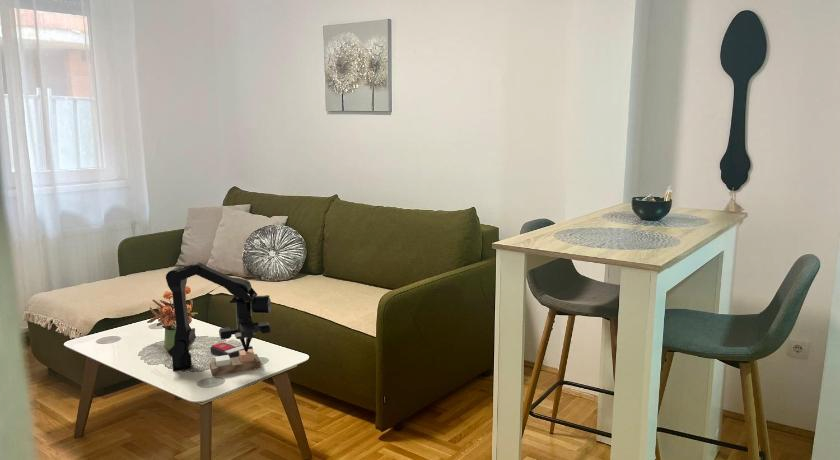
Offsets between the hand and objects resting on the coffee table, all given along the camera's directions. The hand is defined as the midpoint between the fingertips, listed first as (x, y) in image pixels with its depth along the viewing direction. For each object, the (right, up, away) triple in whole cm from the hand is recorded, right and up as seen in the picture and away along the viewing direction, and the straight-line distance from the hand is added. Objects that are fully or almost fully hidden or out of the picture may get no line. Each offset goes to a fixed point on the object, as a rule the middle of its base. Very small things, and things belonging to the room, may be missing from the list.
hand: (246, 351), depth 242 cm
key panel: (-4, -7, -1) cm, 8 cm away
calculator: (-10, -4, +14) cm, 18 cm away
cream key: (-8, -6, -3) cm, 10 cm away
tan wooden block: (0, -4, +1) cm, 4 cm away
